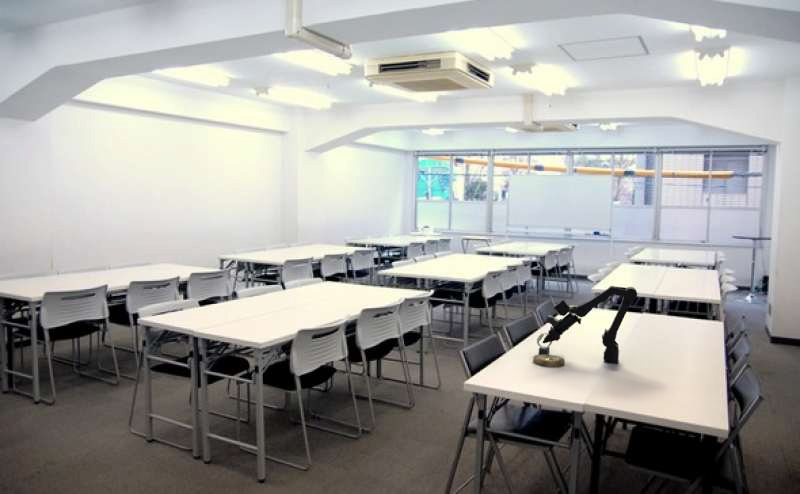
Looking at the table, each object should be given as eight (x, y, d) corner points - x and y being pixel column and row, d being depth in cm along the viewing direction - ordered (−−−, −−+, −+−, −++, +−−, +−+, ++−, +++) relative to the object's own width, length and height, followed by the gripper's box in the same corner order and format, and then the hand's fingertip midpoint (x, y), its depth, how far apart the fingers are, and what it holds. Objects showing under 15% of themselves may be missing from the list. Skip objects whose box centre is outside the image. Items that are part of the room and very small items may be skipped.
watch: (537, 351, 302) (538, 331, 301) (552, 353, 299) (553, 333, 298) (534, 353, 297) (535, 333, 296) (550, 356, 294) (551, 335, 293)
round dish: (567, 361, 285) (567, 356, 285) (561, 369, 272) (561, 364, 272) (537, 356, 292) (537, 352, 292) (529, 364, 279) (530, 359, 278)
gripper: (557, 307, 303) (535, 325, 307) (554, 314, 285) (530, 333, 290) (572, 323, 301) (549, 341, 305) (569, 331, 283) (545, 350, 288)
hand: (543, 341), depth 297 cm, fingers open, 6 cm apart
